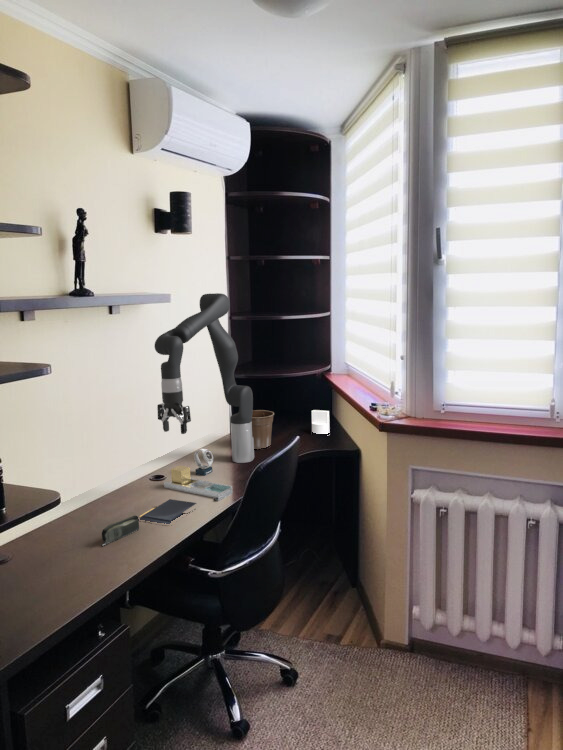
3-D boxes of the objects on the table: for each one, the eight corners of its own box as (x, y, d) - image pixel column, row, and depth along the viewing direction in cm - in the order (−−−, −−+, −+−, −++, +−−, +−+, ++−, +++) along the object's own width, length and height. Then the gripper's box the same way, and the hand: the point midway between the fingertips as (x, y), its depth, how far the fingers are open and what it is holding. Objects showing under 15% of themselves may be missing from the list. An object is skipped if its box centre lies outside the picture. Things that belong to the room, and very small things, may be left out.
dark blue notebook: (169, 523, 185) (131, 516, 192) (169, 528, 186) (132, 521, 192) (203, 501, 203) (168, 495, 210) (204, 506, 203) (168, 500, 210)
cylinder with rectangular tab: (309, 435, 292) (308, 412, 290) (315, 431, 300) (314, 408, 298) (326, 436, 288) (325, 413, 286) (332, 432, 296) (331, 409, 295)
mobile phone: (133, 513, 185) (96, 529, 173) (140, 515, 184) (103, 531, 171) (134, 528, 186) (97, 545, 174) (141, 530, 185) (104, 547, 172)
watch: (208, 478, 231) (207, 452, 229) (192, 476, 235) (190, 450, 233) (216, 474, 236) (215, 448, 234) (200, 472, 239) (199, 446, 238)
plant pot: (281, 443, 278) (280, 411, 276) (265, 452, 264) (263, 418, 262) (252, 440, 286) (250, 408, 283) (234, 449, 272) (233, 415, 269)
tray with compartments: (179, 483, 227) (178, 475, 226) (232, 493, 213) (232, 485, 213) (164, 489, 220) (163, 482, 219) (218, 501, 206) (217, 493, 206)
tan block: (181, 482, 224) (179, 465, 223) (190, 484, 221) (189, 467, 220) (172, 486, 220) (171, 469, 219) (182, 489, 217) (181, 471, 216)
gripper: (193, 389, 213) (196, 432, 215) (164, 386, 220) (167, 428, 223) (179, 392, 206) (182, 436, 209) (150, 390, 214) (153, 432, 216)
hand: (175, 432), depth 216 cm, fingers open, 8 cm apart
